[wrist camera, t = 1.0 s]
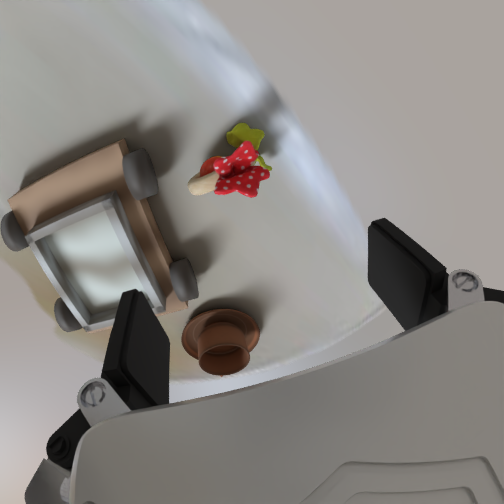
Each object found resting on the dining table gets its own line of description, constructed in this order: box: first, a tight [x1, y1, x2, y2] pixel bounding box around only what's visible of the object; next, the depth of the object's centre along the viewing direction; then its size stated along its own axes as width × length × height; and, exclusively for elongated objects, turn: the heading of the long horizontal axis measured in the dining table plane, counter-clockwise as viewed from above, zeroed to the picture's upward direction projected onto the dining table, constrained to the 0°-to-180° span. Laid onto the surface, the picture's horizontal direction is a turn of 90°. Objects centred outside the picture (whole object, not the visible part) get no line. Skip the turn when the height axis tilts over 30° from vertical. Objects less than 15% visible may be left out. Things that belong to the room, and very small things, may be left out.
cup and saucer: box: [182, 309, 260, 377], centre depth 42 cm, size 12×12×6 cm
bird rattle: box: [188, 123, 272, 197], centre depth 27 cm, size 6×11×9 cm
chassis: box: [1, 138, 199, 334], centre depth 31 cm, size 22×20×6 cm
